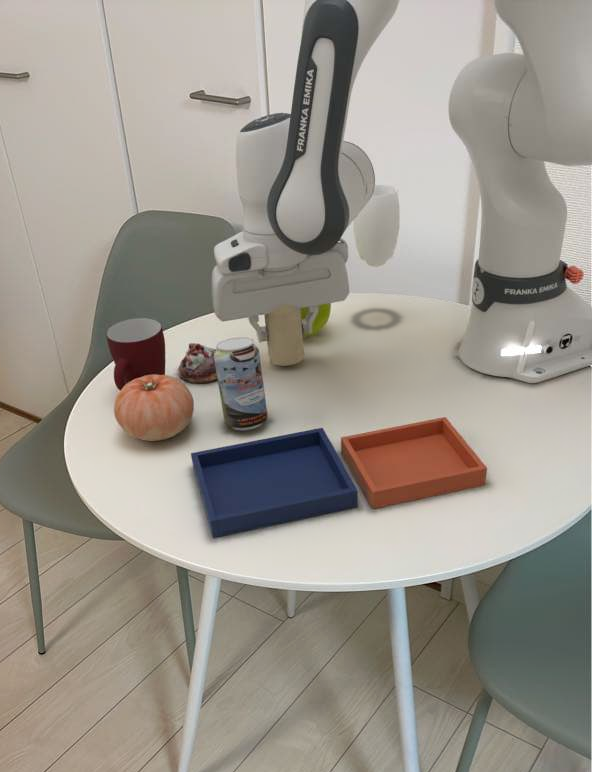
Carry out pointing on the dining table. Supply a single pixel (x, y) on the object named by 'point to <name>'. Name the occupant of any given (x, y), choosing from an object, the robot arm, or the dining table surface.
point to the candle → (285, 335)
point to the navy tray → (272, 482)
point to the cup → (378, 226)
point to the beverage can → (240, 383)
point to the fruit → (317, 318)
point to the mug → (136, 349)
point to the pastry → (198, 364)
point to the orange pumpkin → (154, 407)
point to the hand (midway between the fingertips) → (284, 336)
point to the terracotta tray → (412, 462)
